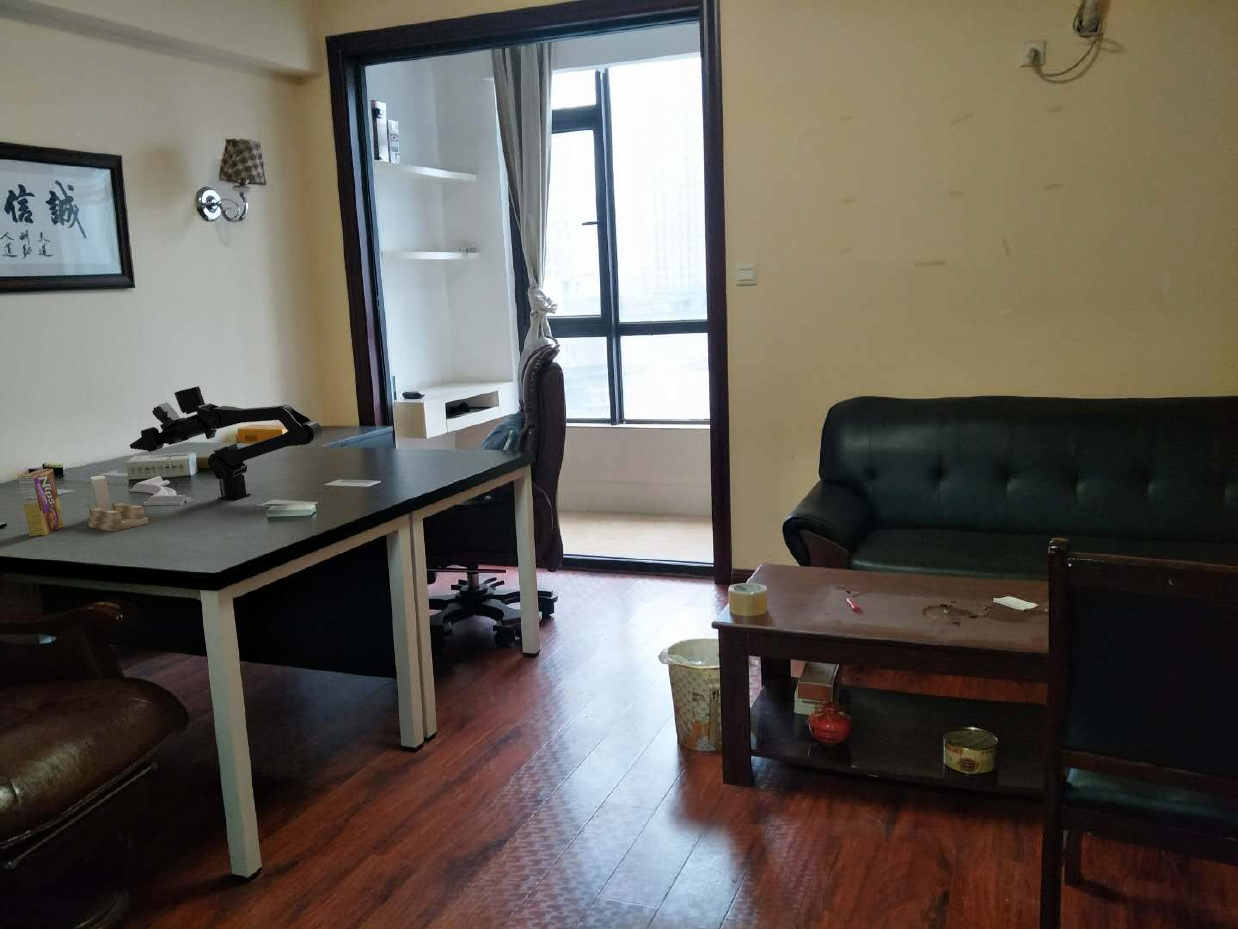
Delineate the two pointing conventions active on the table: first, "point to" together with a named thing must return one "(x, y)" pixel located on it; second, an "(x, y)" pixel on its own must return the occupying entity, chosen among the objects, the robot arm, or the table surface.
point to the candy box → (41, 502)
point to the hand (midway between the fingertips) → (139, 443)
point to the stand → (117, 517)
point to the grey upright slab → (100, 492)
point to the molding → (159, 492)
